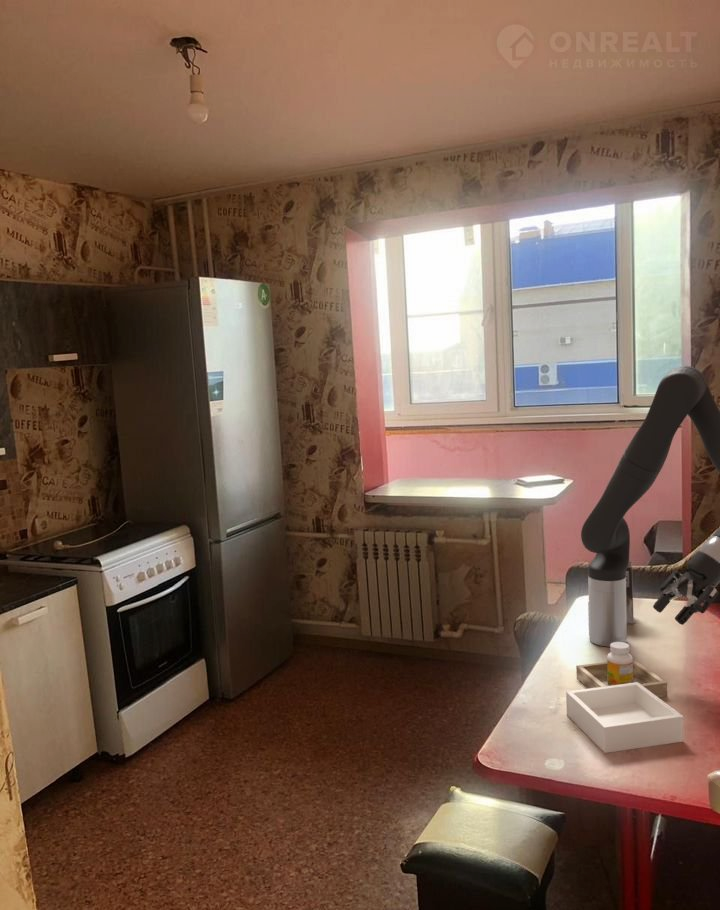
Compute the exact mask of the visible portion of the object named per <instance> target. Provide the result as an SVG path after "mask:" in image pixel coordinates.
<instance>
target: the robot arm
mask: <svg viewBox="0 0 720 910" xmlns="http://www.w3.org/2000/svg"><path fill="white" fill-rule="evenodd" d="M687 416H688V417H689V418H690V420H691V421H692V423H693V425H694V426H695V429H696V430H697V432H698V434H699V437H700V440H701V441H702V444H703V447H704V450H705V452H706V455H707V456H708V457H709V459H710V461H711V463H712V466H714V468H715V470H716V471H717V473H718V474H719V475H720V409H719V406H718V405H717V403H716V401H715V400H714V397H713V395H712V392H711V390H710V388H709V384H708V383H707V380H706V378H705V377H704V375H703V373H702V372H701V371H700V370H699V369H697V368H696V367H693V366H691V365H681V366H677V367H675V368H673V369H672V370H670V371H669V372H668V373H666V374H665V376H663V377H662V378H661V380H660V382H659V383H658V386H657V388H656V391H655V394H654V397H653V400H652V402H651V404H650V407H649V409H648V411H647V414H646V415H645V418H644V420H643V422H642V424H641V425H640V427H639V428H638V429H637V431H636V433H635V434H634V436H633V437H632V438H631V440H630V442H629V443H628V445H627V447H626V448H625V451H624V452H623V455H622V457H620V460H619V462H618V464H617V467H616V469H615V470H614V472H613V474H612V476H611V478H610V480H609V482H608V483H607V486H606V488H605V490H604V492H603V494H602V495H601V497H600V499H599V500H598V502H597V503H596V505H595V506H594V508H593V509H592V510H591V512H590V513H589V515H588V516H587V518H586V520H585V521H584V523H583V524H582V527H581V532H580V539H581V542H582V544H583V546H584V548H585V549H586V550H588V551H589V552H591V553H594V554H595V556H594V557H593V560H591V562H589V565H588V567H587V577H588V578H587V579H588V582H587V583H588V584H587V585H588V586H587V587H588V601H587V602H588V603H587V607H588V609H587V610H588V611H587V612H588V615H587V616H588V636H589V641H590V642H591V643H592V644H595V645H596V646H597V645H598V646H601V647H610V644H611V643H613V642H624V643H627V642H628V639H627V638H628V637H627V636H628V635H627V633H628V631H627V628H628V627H627V625H628V623H627V618H626V570H627V567H628V564H629V562H630V549H631V548H630V546H631V545H630V544H631V543H630V542H631V540H630V538H631V537H630V528H629V525H628V523H627V521H626V519H625V518H624V517H625V515H626V514H627V512H628V511H629V510H630V509H631V508H632V507H633V506H634V505H635V504H636V503H637V502H638V501H639V500H640V499H641V498H642V497H643V496H644V495H645V494H646V493H647V492H648V491H649V489H651V487H652V486H653V484H654V483H655V481H656V479H657V477H658V476H659V474H660V472H661V470H662V469H663V467H664V466H665V462H666V460H667V459H668V458H667V457H668V455H669V452H670V449H671V445H672V443H673V440H674V436H675V435H676V433H677V431H678V430H679V427H680V426H681V425H682V423H683V422H684V420H685V419H686V417H687ZM685 567H686V572H684V573H682V574H681V572H679V570H677V569H676V570H674V571H672V573H671V574H670V575H669V576H668V577H667V578H666V579H665V581H664V582H663V583H661V584H660V586H658V587H659V588H658V589H659V590H660V592H661V595H660V596H659V598H657V600H656V601H655V602H654V604H653V606H652V607H653V609H654V610H655V611H656V612H658V613H662V612H663V611H664V609H665V608H666V607H667V606H668V605H669V604H670V602H671V600H674V599H676V598H682V597H684V598H687V600H686V605H684V606H683V607H682V609H681V610H680V611H679V612H678V613H677V614H676V615H675V617H674V620H675V621H676V622H677V623H678V624H679V625H682V626H683V625H685V623H687V622H688V620H689V619H691V617H692V616H693V614H697V613H701V614H704V613H706V611H707V610H708V609H709V607H711V605H712V604H713V602H714V601H715V600H716V598H717V597H718V595H719V594H720V592H719V591H718V590H717V589H716V587H717V586H718V585H719V584H720V526H719V528H717V530H715V532H714V533H713V534H712V535H711V536H710V538H708V539H707V540H706V541H705V542H704V543H703V544H702V545H701V547H700V548H699V549H698V550H697V552H696V553H695V554H694V555H693V556H692V558H690V560H689V561H688V562H687V563H686V565H685ZM668 586H669V587H668ZM703 602H704V603H703ZM702 603H703V604H702Z"/></svg>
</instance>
